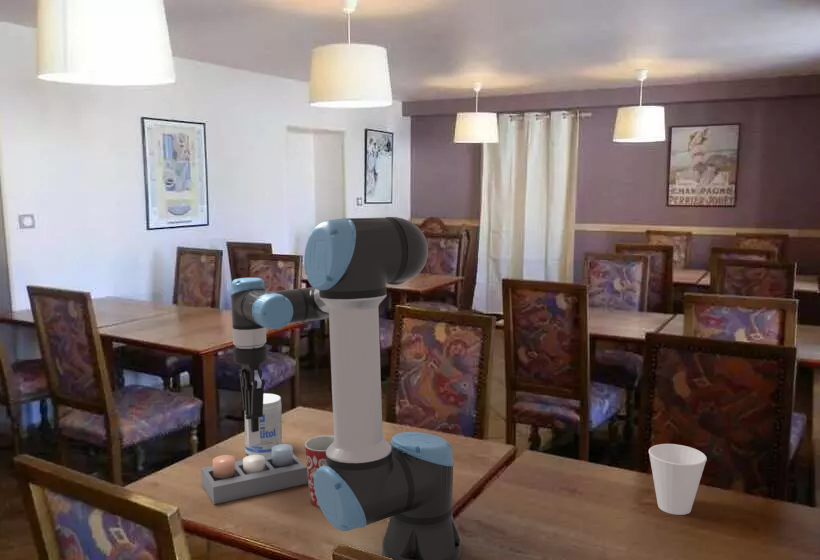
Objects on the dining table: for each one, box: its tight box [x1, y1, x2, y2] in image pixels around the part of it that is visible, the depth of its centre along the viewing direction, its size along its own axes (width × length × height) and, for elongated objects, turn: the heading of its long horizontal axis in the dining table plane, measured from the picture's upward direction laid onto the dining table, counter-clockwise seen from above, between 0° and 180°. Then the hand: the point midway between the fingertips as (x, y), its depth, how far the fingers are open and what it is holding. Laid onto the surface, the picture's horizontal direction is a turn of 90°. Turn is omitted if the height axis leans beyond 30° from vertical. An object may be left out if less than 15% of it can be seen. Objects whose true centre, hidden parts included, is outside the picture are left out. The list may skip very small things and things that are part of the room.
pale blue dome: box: [272, 443, 294, 466], centre depth 166 cm, size 5×5×4 cm
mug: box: [304, 435, 334, 507], centre depth 155 cm, size 13×9×14 cm
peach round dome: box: [212, 454, 236, 478], centre depth 159 cm, size 5×5×4 cm
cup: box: [648, 443, 707, 516], centre depth 150 cm, size 12×12×12 cm
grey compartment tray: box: [200, 453, 308, 505], centre depth 163 cm, size 12×22×4 cm, turn 119°
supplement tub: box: [244, 393, 283, 456], centre depth 181 cm, size 10×10×15 cm
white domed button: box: [242, 455, 265, 475], centre depth 162 cm, size 5×5×4 cm
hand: (253, 443), depth 161 cm, fingers closed
